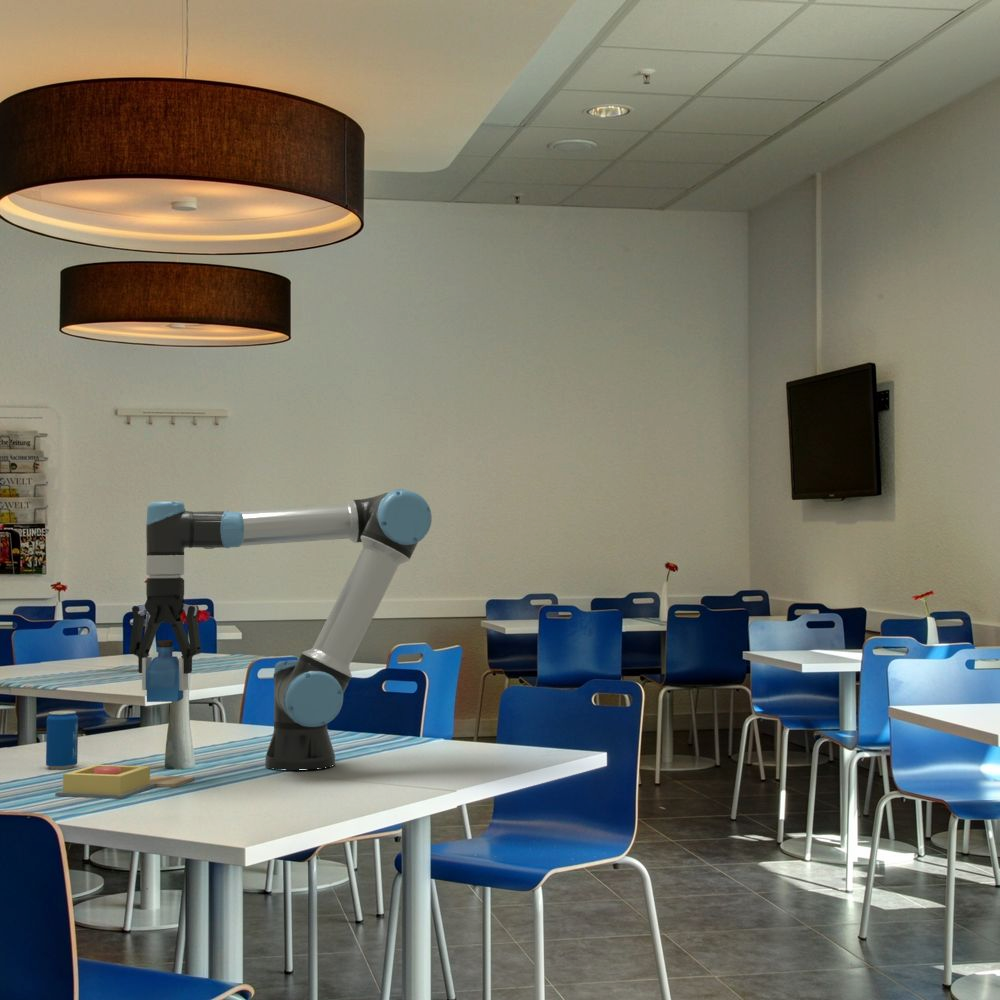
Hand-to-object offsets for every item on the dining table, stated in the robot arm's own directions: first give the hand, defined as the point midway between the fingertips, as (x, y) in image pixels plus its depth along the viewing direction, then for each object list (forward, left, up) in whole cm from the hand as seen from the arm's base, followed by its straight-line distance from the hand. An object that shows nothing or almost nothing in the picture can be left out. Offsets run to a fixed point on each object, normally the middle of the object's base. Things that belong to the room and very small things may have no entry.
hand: (165, 689), depth 265 cm
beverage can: (+31, -13, -19) cm, 38 cm away
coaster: (0, 0, -19) cm, 19 cm away
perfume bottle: (0, 0, -2) cm, 2 cm away
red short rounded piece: (+7, +11, -17) cm, 22 cm away
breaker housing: (+7, +11, -19) cm, 23 cm away
